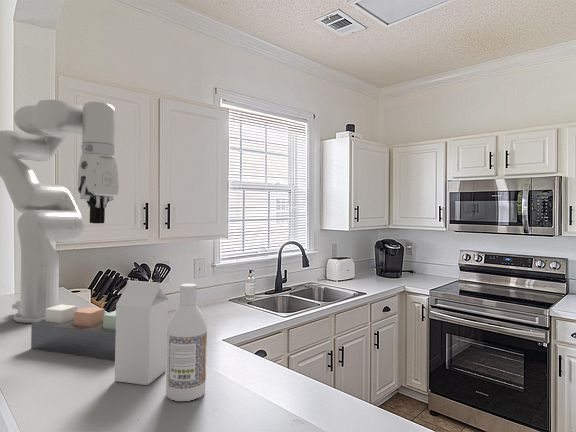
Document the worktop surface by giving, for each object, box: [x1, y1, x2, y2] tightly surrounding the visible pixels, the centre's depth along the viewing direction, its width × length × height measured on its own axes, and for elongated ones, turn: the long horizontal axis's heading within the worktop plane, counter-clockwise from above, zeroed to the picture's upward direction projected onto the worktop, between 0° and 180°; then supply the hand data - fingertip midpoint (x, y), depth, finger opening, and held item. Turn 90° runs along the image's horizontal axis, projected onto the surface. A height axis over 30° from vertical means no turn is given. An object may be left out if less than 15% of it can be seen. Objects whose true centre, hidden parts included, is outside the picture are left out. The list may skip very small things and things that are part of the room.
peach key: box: [74, 306, 106, 327], centre depth 94 cm, size 5×5×6 cm
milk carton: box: [114, 279, 169, 386], centre depth 79 cm, size 7×7×19 cm
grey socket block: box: [30, 319, 116, 362], centre depth 94 cm, size 23×10×6 cm, turn 76°
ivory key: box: [46, 304, 78, 323], centre depth 96 cm, size 5×5×6 cm
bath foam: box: [165, 283, 208, 402], centre depth 72 cm, size 7×7×20 cm
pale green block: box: [103, 310, 116, 330], centre depth 92 cm, size 5×5×6 cm
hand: (97, 223), depth 103 cm, fingers closed
